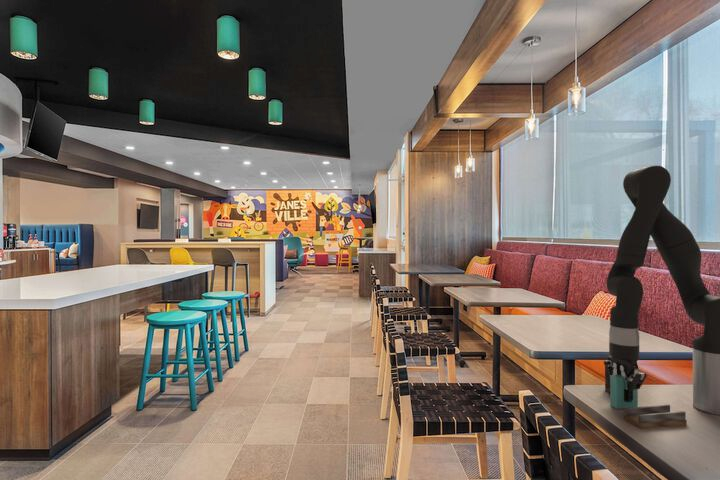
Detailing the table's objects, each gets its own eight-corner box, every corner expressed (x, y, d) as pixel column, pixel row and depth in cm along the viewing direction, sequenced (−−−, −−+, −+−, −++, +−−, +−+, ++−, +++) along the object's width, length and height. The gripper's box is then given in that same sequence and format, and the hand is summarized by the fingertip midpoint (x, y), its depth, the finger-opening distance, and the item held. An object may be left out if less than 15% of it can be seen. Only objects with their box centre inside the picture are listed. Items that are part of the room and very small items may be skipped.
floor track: (667, 415, 112) (667, 404, 112) (686, 424, 106) (686, 412, 106) (623, 419, 109) (623, 407, 109) (641, 428, 104) (641, 416, 104)
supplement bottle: (630, 395, 126) (629, 360, 126) (609, 394, 127) (609, 358, 127) (621, 388, 132) (621, 354, 132) (602, 387, 133) (601, 353, 133)
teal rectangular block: (631, 404, 119) (630, 374, 119) (637, 407, 117) (637, 376, 117) (610, 405, 118) (610, 375, 118) (616, 408, 116) (616, 378, 116)
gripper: (655, 347, 111) (656, 408, 111) (616, 335, 125) (616, 390, 125) (632, 348, 110) (632, 410, 110) (595, 336, 124) (595, 391, 124)
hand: (624, 399), depth 118 cm, fingers closed on teal rectangular block, 2 cm apart
